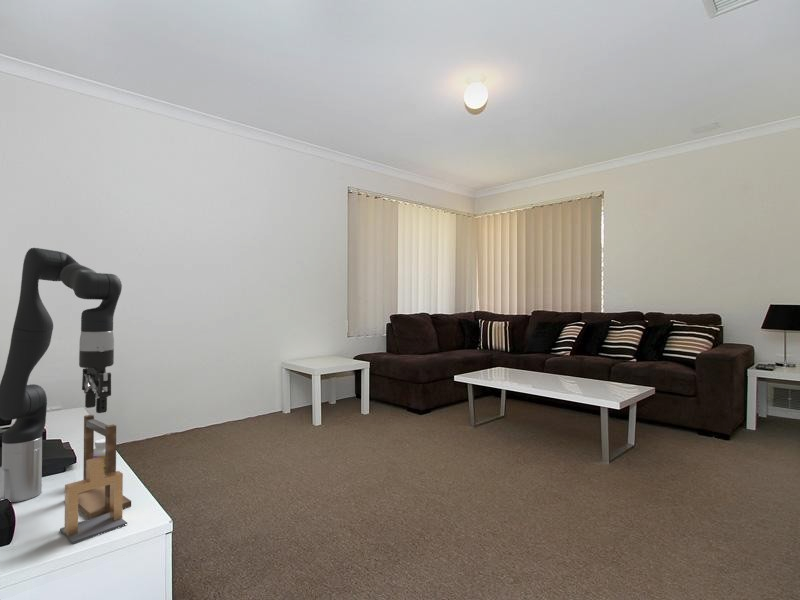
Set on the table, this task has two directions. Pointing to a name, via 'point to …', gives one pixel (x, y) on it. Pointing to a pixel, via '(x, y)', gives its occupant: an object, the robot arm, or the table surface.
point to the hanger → (92, 481)
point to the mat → (93, 527)
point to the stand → (99, 498)
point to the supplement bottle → (100, 450)
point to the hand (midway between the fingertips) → (95, 409)
